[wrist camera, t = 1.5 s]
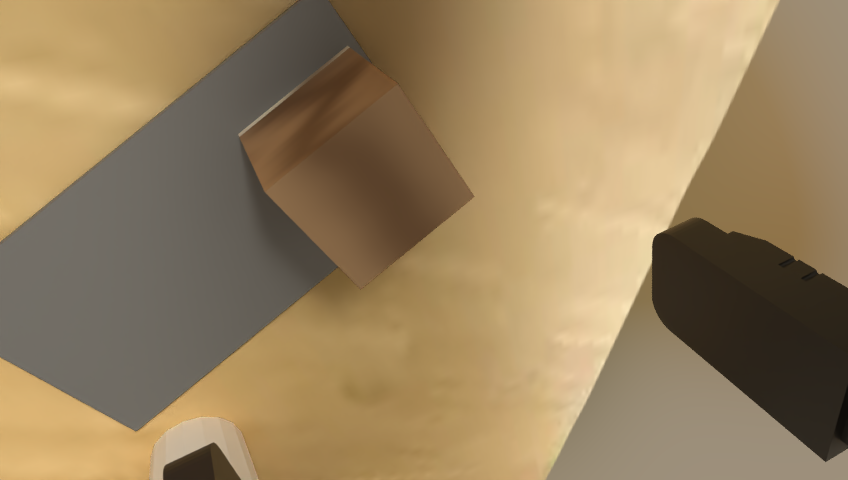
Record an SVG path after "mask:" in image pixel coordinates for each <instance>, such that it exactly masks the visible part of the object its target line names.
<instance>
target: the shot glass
mask: <svg viewBox="0 0 848 480" xmlns="http://www.w3.org/2000/svg"><path fill="white" fill-rule="evenodd" d="M211 443H216V444H217V445H218V446H219V448H220V449H221V451H222V452H223V454H224V455H225V456H226V458H227V459H228V461H229V462H230V464H231V465H232V467H233V468H234V470H235V471H236V473H237V474H238V476H239V477H240V479H241V480H259V479H258V476H257V473H256V470H255V468H254V465H253V462H252V459H251V457H250V454H249V451H248V449H247V446H246V443H245V440H244V438H243V435H242V432H241V431H240V430H239V429H238V428H237V427H236V425H235V424H234V423H233V422H230V421H227V420H225V419H222V418H219V417H198V418H194V419H191V420H187V421H183V422H181V423H179V424H177V425H176V426H174V427H172V428H171V429H169V430H167V431H166V432H165V433H164V434H163V435H162V436H161V437H160V438H159V440H158V441H157V442H156V443H155V445H154V448H153V451H152V455H151V460H150V474H149V480H163V469H164V466H165V465H166V464H168V463H170V462H173V461H175V460H177V459H179V458H181V457H183V456H185V455H187V454H189V453H192V452H194V451H196V450H198V449H200V448H202V447H204V446H206V445H209V444H211Z"/></svg>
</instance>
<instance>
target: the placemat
mask: <svg viewBox="0 0 848 480" xmlns="http://www.w3.org/2000/svg"><path fill="white" fill-rule="evenodd" d="M346 46H349V47H350V48H351V49H353V50H354V51H355V52H357V53H358V54H359V55H361V56H362V57H363V58H365V59H366V60H367V61H369V62H370V63H371V61H370V60H369V58H368V57H367V55H366V54H365V53H364V51H363V50H362V48H361V47H360V45H359V44H358V42H357V41H356V40H355V38H354V37H353V35H352V34H351V32H350V31H349V29H348V28H347V27H346V25H345V24H344V22H343V21H342V19H341V18H340V16H339V15H338V14H337V12H336V11H335V9H334V8H333V6H332V5H331V3H330V2H329V1H328V0H299V1H297V2H296V3H295V4H294V5H292V6H291V7H290V8H289V9H288V10H286V11H285V12H284V13H283V14H281V15H280V16H279V17H278V18H276V19H275V20H274V21H273V22H271V23H270V24H269V25H268V26H267V27H265V28H264V29H263V30H262V31H260V32H259V33H258V34H257V35H255V36H254V37H253V38H252V39H250V40H249V41H248V42H247V43H246V44H244V45H243V46H242V47H241V48H239V49H238V50H237V51H236V52H234V53H233V54H232V55H231V56H229V57H228V58H227V59H226V60H225V61H223V62H222V63H221V64H220V65H218V66H217V67H216V68H215V69H213V70H212V71H211V72H210V73H208V74H207V75H206V76H205V77H204V78H202V79H201V80H200V81H199V82H197V83H196V84H195V85H194V86H192V87H191V88H190V89H189V90H187V91H186V92H185V93H184V94H183V95H181V96H180V97H179V98H178V99H176V100H175V101H174V102H173V103H171V104H170V105H169V106H168V107H167V108H165V109H164V110H163V111H162V112H160V113H159V114H158V115H157V116H155V117H154V118H153V119H152V120H150V121H149V122H148V123H147V124H146V125H144V126H143V127H142V128H141V129H139V130H138V131H137V132H136V133H134V134H133V135H132V136H131V137H129V138H128V139H127V140H126V141H125V142H123V143H122V144H121V145H120V146H118V147H117V148H116V149H115V150H113V151H112V152H111V153H110V154H108V155H107V156H106V157H105V158H104V159H102V160H101V161H100V162H99V163H97V164H96V165H95V166H94V167H92V168H91V169H90V170H89V171H87V172H86V173H85V174H84V175H83V176H81V177H80V178H79V179H78V180H76V181H75V182H74V183H73V184H71V185H70V186H69V187H68V188H66V189H65V190H64V191H63V192H62V193H60V194H59V195H58V196H57V197H55V198H54V199H53V200H52V201H50V202H49V203H48V204H47V205H45V206H44V207H43V208H42V209H41V210H39V211H38V212H37V213H36V214H34V215H33V216H32V217H31V218H29V219H28V220H27V221H26V222H24V223H23V224H22V225H21V226H20V227H18V228H17V229H16V230H15V231H13V232H12V233H11V234H10V235H8V236H7V237H6V238H5V239H3V240H2V241H1V242H0V357H1V358H3V359H5V360H7V361H8V362H10V363H12V364H14V365H16V366H18V367H19V368H21V369H23V370H25V371H27V372H29V373H30V374H32V375H34V376H36V377H38V378H39V379H41V380H43V381H45V382H47V383H49V384H50V385H52V386H54V387H56V388H58V389H60V390H61V391H63V392H65V393H67V394H69V395H70V396H72V397H74V398H76V399H78V400H80V401H81V402H83V403H85V404H87V405H89V406H91V407H92V408H94V409H96V410H98V411H100V412H101V413H103V414H105V415H107V416H109V417H111V418H112V419H114V420H116V421H118V422H120V423H122V424H123V425H125V426H127V427H129V428H131V429H133V430H134V431H137V430H139V429H140V428H141V427H142V426H143V425H145V424H146V423H147V422H148V421H150V420H151V419H152V418H153V417H155V416H156V415H157V414H158V413H159V412H161V411H162V410H163V409H164V408H166V407H167V406H168V405H169V404H170V403H172V402H173V401H174V400H175V399H177V398H178V397H179V396H180V395H182V394H183V393H184V392H185V391H186V390H188V389H189V388H190V387H191V386H193V385H194V384H195V383H196V382H197V381H199V380H200V379H201V378H202V377H204V376H205V375H206V374H207V373H209V372H210V371H211V370H212V369H213V368H215V367H216V366H217V365H218V364H220V363H221V362H222V361H223V360H224V359H226V358H227V357H228V356H229V355H231V354H232V353H233V352H234V351H235V350H237V349H238V348H239V347H240V346H242V345H243V344H244V343H245V342H247V341H248V340H249V339H250V338H251V337H253V336H254V335H255V334H256V333H258V332H259V331H260V330H261V329H262V328H264V327H265V326H266V325H267V324H269V323H270V322H271V321H272V320H274V319H275V318H276V317H277V316H278V315H280V314H281V313H282V312H283V311H285V310H286V309H287V308H288V307H289V306H291V305H292V304H293V303H294V302H296V301H297V300H298V299H299V298H301V297H302V296H303V295H304V294H305V293H307V292H308V291H309V290H310V289H312V288H313V287H314V286H315V285H316V284H318V283H319V282H320V281H321V280H323V279H324V278H325V277H326V276H328V275H329V274H330V273H331V272H332V271H334V270H335V269H336V268H337V267H338V266H337V265H336V264H335V263H334V262H333V261H332V260H331V259H330V258H329V257H328V256H327V255H326V254H325V253H324V252H323V251H322V250H321V249H320V248H319V247H318V246H317V245H316V244H315V243H314V242H313V241H312V240H311V239H310V238H309V237H308V235H307V234H306V233H305V232H304V231H303V230H302V229H301V228H300V227H299V226H298V225H297V224H296V223H295V222H294V221H293V220H292V219H291V218H290V217H289V216H288V215H287V214H286V213H285V212H284V211H283V210H282V209H281V208H280V207H279V206H278V205H277V204H276V203H275V202H274V201H273V200H272V199H271V198H270V197H269V196H268V195H267V194H266V193H265V192H264V189H263V187H262V185H261V183H260V181H259V179H258V176H257V174H256V172H255V170H254V168H253V166H252V164H251V161H250V159H249V157H248V155H247V153H246V151H245V148H244V146H243V144H242V142H241V140H240V138H239V135H238V134H239V133H240V132H241V131H243V130H244V129H245V128H246V127H248V126H249V125H250V124H251V123H253V122H254V121H255V120H256V119H257V118H259V117H260V116H261V115H262V114H264V113H265V112H266V111H267V110H269V109H270V108H271V107H272V106H273V105H275V104H276V103H277V102H278V101H280V100H281V99H282V98H283V97H285V96H286V95H287V94H288V93H290V92H291V91H292V90H293V89H294V88H296V87H297V86H298V85H299V84H301V83H302V82H303V81H304V80H306V79H307V78H308V77H309V76H310V75H312V74H313V73H314V72H315V71H317V70H318V69H319V68H320V67H322V66H323V65H324V64H325V63H326V62H328V61H329V60H330V59H331V58H333V57H334V56H335V55H336V54H338V53H339V52H340V51H341V50H343V49H344V48H345V47H346ZM371 64H372V63H371Z"/></svg>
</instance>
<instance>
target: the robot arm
mask: <svg viewBox="0 0 848 480" xmlns="http://www.w3.org/2000/svg"><path fill="white" fill-rule="evenodd" d="M652 300H653V304H654V308H655V310H656V313H657V314H658V316H659V318H660V320H661V321H662V322H663V324H664V325H665V326H666V327H667V328H668V329H669V330H670V331H671V332H672V333H673V334H675V335H676V336H677V337H678V338H679V339H681V340H682V341H683V342H684V343H685V344H687V345H688V346H689V347H690V348H691V349H692V350H694V351H695V352H696V353H697V354H698V355H700V356H701V357H702V358H703V359H704V360H705V361H707V362H708V363H709V364H710V365H711V366H713V367H714V368H715V369H716V370H717V371H718V372H720V373H721V374H722V375H723V376H725V377H726V378H727V379H728V380H729V381H730V382H732V383H733V384H734V385H735V386H736V387H738V388H739V389H740V390H741V391H742V392H743V393H745V394H746V395H747V396H748V397H749V398H750V399H752V400H753V401H754V402H755V403H756V404H758V405H759V406H760V407H761V408H763V409H764V410H765V411H766V412H767V413H768V414H769V415H771V416H772V417H773V418H774V419H775V420H777V421H778V422H779V423H780V424H781V425H783V426H784V427H785V428H786V429H787V430H788V431H790V432H791V433H792V434H793V435H794V436H796V437H797V438H798V439H799V440H800V441H801V442H803V443H804V444H805V445H806V446H807V447H809V448H810V449H811V450H812V451H813V452H815V453H816V454H817V455H818V456H819V457H820V458H822V459H823V460H824V461H825V462H826V461H828V460H830V459H831V458H833V457H835V456H836V455H838V454H839V453H841V452H843V451H845V450H846V449H848V288H847V287H845V286H843V285H842V284H840V283H838V282H836V281H835V280H833V279H831V278H830V277H828V276H826V275H824V274H823V273H822V274H818V273H817V271H816V270H815V269H814V268H812V267H811V266H809V265H807V264H805V263H803V262H802V261H800V260H798V261H796V260H795V259H794V257H793V256H791V255H790V254H788V253H787V252H785V251H783V250H781V249H780V248H778V247H776V246H774V245H773V244H771V243H769V242H768V241H765V240H762V239H758V238H754V237H751V236H748V235H744V234H741V233H737V232H731V233H729V234H727V233H725V232H723V231H722V230H720V229H719V228H717V227H715V226H714V225H712V224H710V223H709V222H707V221H705V220H703V219H701V218H691V219H689V220H687V221H685V222H682V223H680V224H678V225H676V226H674V227H672V228H670V229H668V230H666V231H663V232H661V233H659V234H657V235H656V236H655V237H654V239H653V244H652ZM163 480H241V479H240V477H239V476H238V474H237V473H236V471H235V470H234V468H233V467H232V465H231V464H230V462H229V461H228V459H227V458H226V456H225V455H224V454H223V452H222V451H221V449H220V448H219V446H218V445H217V444H216V443H211V444H209V445H206V446H204V447H202V448H200V449H198V450H196V451H194V452H192V453H189V454H187V455H185V456H183V457H181V458H179V459H177V460H175V461H173V462H170V463H168V464H166V465H165V466H164V469H163Z"/></svg>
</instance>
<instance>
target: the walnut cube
mask: <svg viewBox="0 0 848 480" xmlns="http://www.w3.org/2000/svg"><path fill="white" fill-rule="evenodd" d="M238 135H239V138H240V140H241V142H242V144H243V146H244V148H245V151H246V153H247V155H248V157H249V159H250V161H251V164H252V166H253V168H254V170H255V172H256V174H257V176H258V179H259V181H260V183H261V185H262V187H263V189H264V192H265V193H266V194H267V195H268V196H269V197H270V198H271V199H272V200H273V201H274V202H275V203H276V204H277V205H278V206H279V207H280V208H281V209H282V210H283V211H284V212H285V213H286V214H287V215H288V216H289V217H290V218H291V219H292V220H293V221H294V222H295V223H296V224H297V225H298V226H299V227H300V228H301V229H302V230H303V231H304V232H305V233H306V234H307V235H308V237H309V238H310V239H311V240H312V241H313V242H314V243H315V244H316V245H317V246H318V247H319V248H320V249H321V250H322V251H323V252H324V253H325V254H326V255H327V256H328V257H329V258H330V259H331V260H332V261H333V262H334V263H335V264H336V265H337V266H338V267H339V268H340V269H341V270H342V271H343V272H344V273H345V274H346V275H347V276H348V277H349V278H350V279H351V280H352V281H353V282H354V283H355V284H356V285H357V286H358V287H359V288H360V289H362V288H363V287H364V286H366V285H367V284H368V283H369V282H370V281H372V280H373V279H374V278H375V277H377V276H378V275H379V274H380V273H381V272H383V271H384V270H385V269H386V268H388V267H389V266H390V265H391V264H393V263H394V262H395V261H396V260H397V259H399V258H400V257H401V256H402V255H404V254H405V253H406V252H407V251H408V250H410V249H411V248H412V247H413V246H415V245H416V244H417V243H418V242H419V241H421V240H422V239H423V238H424V237H426V236H427V235H428V234H429V233H431V232H432V231H433V230H434V229H435V228H437V227H438V226H439V225H440V224H442V223H443V222H444V221H445V220H446V219H448V218H449V217H450V216H451V215H453V214H454V213H455V212H456V211H457V210H459V209H460V208H461V207H462V206H464V205H465V204H466V203H467V202H469V201H470V200H471V199H472V198H473V197H474V195H473V194H472V192H471V191H470V189H469V188H468V186H467V185H466V183H465V182H464V180H463V179H462V177H461V176H460V175H459V173H458V172H457V170H456V169H455V167H454V166H453V164H452V163H451V161H450V160H449V158H448V157H447V155H446V154H445V152H444V151H443V149H442V148H441V146H440V145H439V144H438V142H437V141H436V139H435V138H434V136H433V135H432V133H431V132H430V130H429V129H428V127H427V126H426V124H425V123H424V121H423V120H422V118H421V117H420V115H419V114H418V113H417V111H416V110H415V108H414V107H413V105H412V104H411V102H410V101H409V99H408V98H407V96H406V95H405V93H404V92H403V90H402V89H401V87H400V86H399V84H398V83H396V82H395V81H394V80H392V79H391V78H390V77H388V76H387V75H386V74H385V73H383V72H382V71H381V70H379V69H378V68H377V67H375V66H374V65H373V64H371V63H370V62H369V61H367V60H366V59H365V58H363V57H362V56H361V55H359V54H358V53H357V52H355V51H354V50H353V49H351V48H350V47H349V46H346V47H345V48H344V49H343V50H341V51H340V52H339V53H338V54H336V55H335V56H334V57H333V58H331V59H330V60H329V61H328V62H326V63H325V64H324V65H323V66H322V67H320V68H319V69H318V70H317V71H315V72H314V73H313V74H312V75H310V76H309V77H308V78H307V79H306V80H304V81H303V82H302V83H301V84H299V85H298V86H297V87H296V88H294V89H293V90H292V91H291V92H290V93H288V94H287V95H286V96H285V97H283V98H282V99H281V100H280V101H278V102H277V103H276V104H275V105H273V106H272V107H271V108H270V109H269V110H267V111H266V112H265V113H264V114H262V115H261V116H260V117H259V118H257V119H256V120H255V121H254V122H253V123H251V124H250V125H249V126H248V127H246V128H245V129H244V130H243V131H241V132H240V133H239V134H238Z"/></svg>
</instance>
